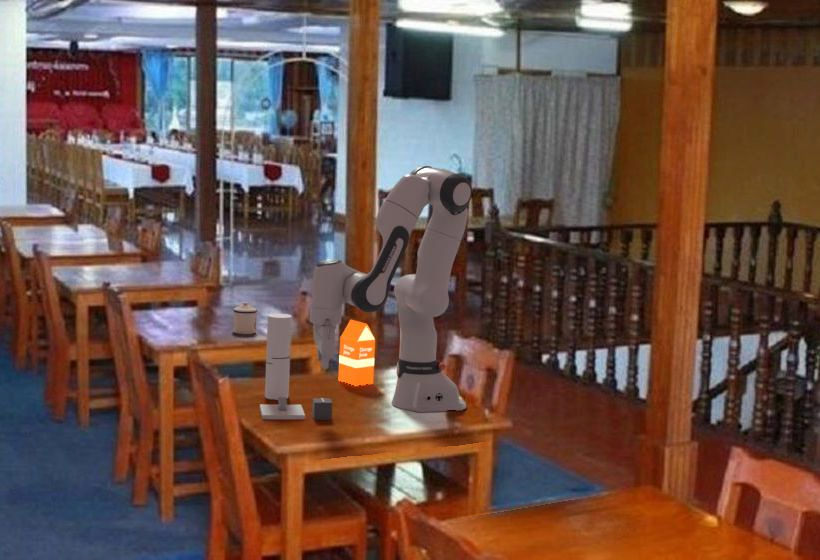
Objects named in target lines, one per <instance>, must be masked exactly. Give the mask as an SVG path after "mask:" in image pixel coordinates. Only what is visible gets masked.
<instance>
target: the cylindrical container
mask: <svg viewBox="0 0 820 560" xmlns="http://www.w3.org/2000/svg"><path fill="white" fill-rule="evenodd" d="M266 329H267V330H266V331H267V332H266V353H265V354H266V357H265V361H266V362H265V382H264V383H265V384H264V385H265V386H264V387H265V388H264V397H265V398H266V399H268V400H273V399H274V400H276V401H278V398H279V397H286V398H287V399H288V397H289V396H290V395H289V394H290V369H291V368H290V367H291V345H292V343H291V342H292V315H291V314H287V313H269V314H267V328H266Z"/></svg>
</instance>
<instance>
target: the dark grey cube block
mask: <svg viewBox="0 0 820 560" xmlns="http://www.w3.org/2000/svg"><path fill="white" fill-rule="evenodd" d="M311 410H312V411H311V417H312V418H313V420H314V421H332V415H333V401H332V399H331V398H327V397H326V398H324V397H321V398H320V397H319V398H314V397H313V398H312V409H311Z"/></svg>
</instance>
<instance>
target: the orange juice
mask: <svg viewBox="0 0 820 560" xmlns="http://www.w3.org/2000/svg"><path fill="white" fill-rule="evenodd" d="M375 351H376V338H375V336H374V335H373V332H372V330H371V329H370V327H369V325H368V324H367V323H364V322H361V321H358V320H355V319H350V320H349V321H348V324H347V325H346V327H345V328H344V331H343V332H342V334H341V336H339V353H338V354H339V355H338V379H337V380H338V381H337V382H340V381H341V382H340V383H343V382H345V383H344V384H346V383H348V384H347V385H349V384H351V385H350V386H352V385H354V386H353V387H360V386H359V385H361V386H367V385H366V384H368V385H373V384H374V373H375V372H374V371H375V370H374V369H375Z"/></svg>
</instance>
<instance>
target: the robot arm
mask: <svg viewBox="0 0 820 560" xmlns="http://www.w3.org/2000/svg"><path fill="white" fill-rule="evenodd" d="M472 193H473V188H472V183H471V182H470V180H469V179H468V178H467V177H465V176H464V175H462V174H460V173H455V172H454V171H451V170H449V169H445V168H437V167H432V166H430V165H423V166H417V167H416V168H414V169H413V170H412V171H411V172H410V173H408V174H405V175H402V177H401V178H400V179H399V180H398V181H397V182H396V183H395V184H394V186H393V187H392V189H391V190H390V191H389V193H388V194H387V196H386V197H385V199H384V201H383V202H382V204H381V205H380V207H379V209H378V212H377V216H376V219H375V224H376V228H377V230H378V232H379V234H380V236H381V237H382V248H381V249H380V252H379V253H378V256H377V258H376V261H375V262H374V264H373V266H372V269H371V270H370V271H369V272H368V273H365V272H362V271H359V270H357V269H354V268H352V267H350V266H349V265H347V264H346V263H344V262H343V261H342V260H341V259H337V258H327V259H323V260H320V261H319V262H317V263H316V264H315V267H314V269H313V276H312V282H311V295H312V300H311V301H310V302H311V303H310V312H309V313H310V314H309V322H310V324H312V329H313V331H312V332H313V333H312V334H313V341H314V344H315V345H316V347H317V348H316V349H317V360H318V362H320V363H321V369H323V370H328V369H329V366H330V365H329V364H330V363H329V362H330V358H331V356H334V355H335V350H336V348H335V347H336V330H337V326H338V325H341V324H342V312H343V304H348V305H351V306H353V307H356V308H358V309H359V310H360V311H362V312H364V313H374V312H377V311H379V310H380V309H381V308H382V307H384V305H385V304H386V303H387V300H388V297H389V293H390V287H391V284H392V281H393V279H394V276H395V274H396V272H397V269H398V267H399V265H400V263H401V261H402V259H403V257H404V254H405V253H406V250H407V247H408V245H409V241H410V236H411V234H412V231H413V229H414V227H415V225H416V223H417V222H418V221H419V218H420V216H421V215H422V213H423V210H424V208H425V207H426V206H428V205H429V206H430V205H431V206H432V215H431V217H430V219H429V221H428V224H427V226H426V228H425V231H424V234H423V236H422V239H421V242H420V244H419V247H418V248H417V249H418V250H417V256H416V257H417V265H416V266H417V267H416V270H415V271H416V272H415V273H412V274H410V273H409V274H405V275H403V276H401V277H400V278H399V279H398V280H397V281H396V282H395V284H394V288H393V294H394V297H395V300H396V305H397V316H398V322H399V331H400V332H399V334H400V335H399V352H398V353H399V354H398V355H399V357H397V362H396V376H397V378H396V385H395V388H394V389H395V390H394V393H393V396H392V397H393V398H392V400H391V405H392V406H395V407H396V408H400V409H404V410H409V411H413V412H416V413H417V412H418V413H432V411H433V412H434V411H435V412H448V411H447V410H456V411H464V410H463V409H465V408H466V409H467V404H466V402H465V400H463V399H462V398H460V393H459V392H460V391H459V389H458V386H457V384H456V383H455V382H454V381H452V379H450V378H449V377H448V376H447V375H446V374H444V373H443V372H442V371H445V370H446V368H447V366H446V364H445V363H444V362H441V361H440V360H439V359H437V343H438V333H437V330H436V327H435V322H434V321H435V320H434V318H435V317H436V318H437V317H439V316H441V315H442V314H444V313H445V312H446V310H447V309H448V308H449V307H448V306H449V304H450V303H449V302H450V298H449V287H450V279H451V272H452V268H453V265H454V261H455V259H456V257H457V256H456V255H457V253H458V250H459V247H460V245H461V241H462V239H463V237H464V233H465V229H466V225H467V222H468V215H469V211H468V206H469V204H470V202H471V199H472ZM466 409H465V410H466Z"/></svg>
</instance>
